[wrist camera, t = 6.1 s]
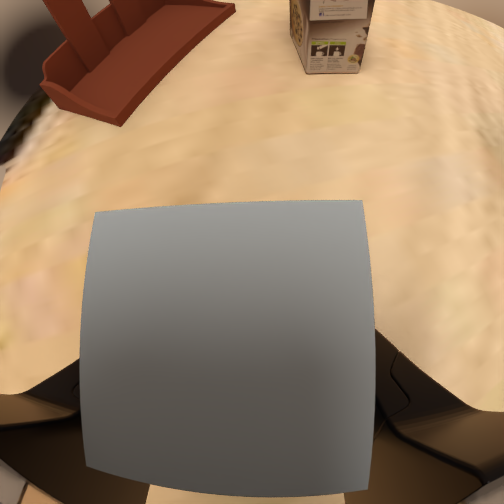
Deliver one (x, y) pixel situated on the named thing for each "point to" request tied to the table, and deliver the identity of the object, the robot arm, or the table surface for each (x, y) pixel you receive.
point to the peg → (230, 347)
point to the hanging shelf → (122, 51)
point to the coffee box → (330, 33)
